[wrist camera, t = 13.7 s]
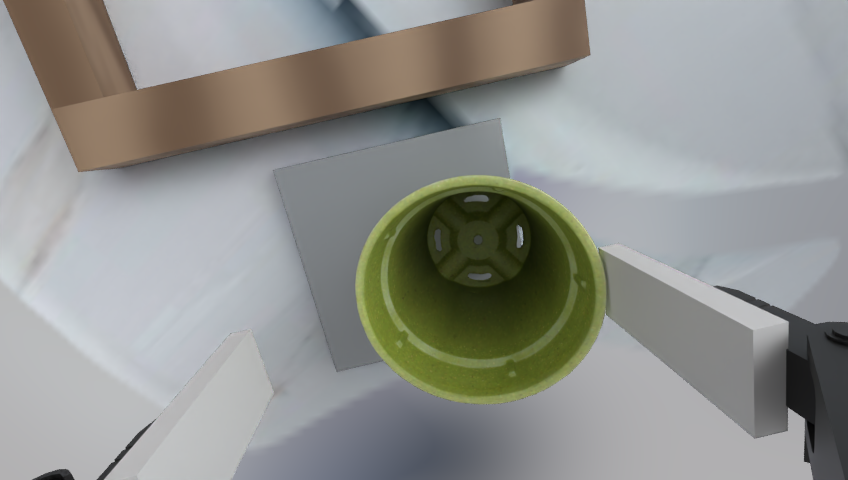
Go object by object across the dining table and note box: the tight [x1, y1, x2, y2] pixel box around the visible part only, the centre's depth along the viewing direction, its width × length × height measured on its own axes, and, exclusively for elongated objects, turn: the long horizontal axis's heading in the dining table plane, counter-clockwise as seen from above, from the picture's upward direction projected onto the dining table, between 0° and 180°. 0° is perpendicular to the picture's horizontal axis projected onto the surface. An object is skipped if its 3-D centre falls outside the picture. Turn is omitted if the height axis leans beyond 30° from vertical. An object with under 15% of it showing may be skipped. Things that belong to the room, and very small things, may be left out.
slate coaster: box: [273, 118, 521, 372], centre depth 24 cm, size 13×13×1 cm
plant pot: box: [355, 175, 606, 404], centre depth 19 cm, size 9×9×9 cm
